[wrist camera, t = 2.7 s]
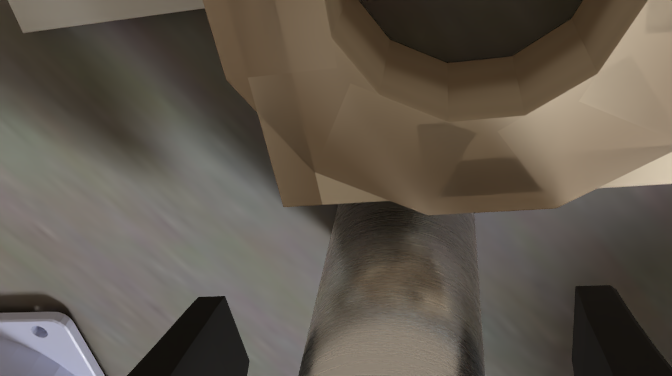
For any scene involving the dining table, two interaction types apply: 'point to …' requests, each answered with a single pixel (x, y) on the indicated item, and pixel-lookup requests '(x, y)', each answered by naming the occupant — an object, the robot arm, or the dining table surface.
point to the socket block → (452, 107)
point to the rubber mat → (90, 11)
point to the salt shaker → (397, 296)
